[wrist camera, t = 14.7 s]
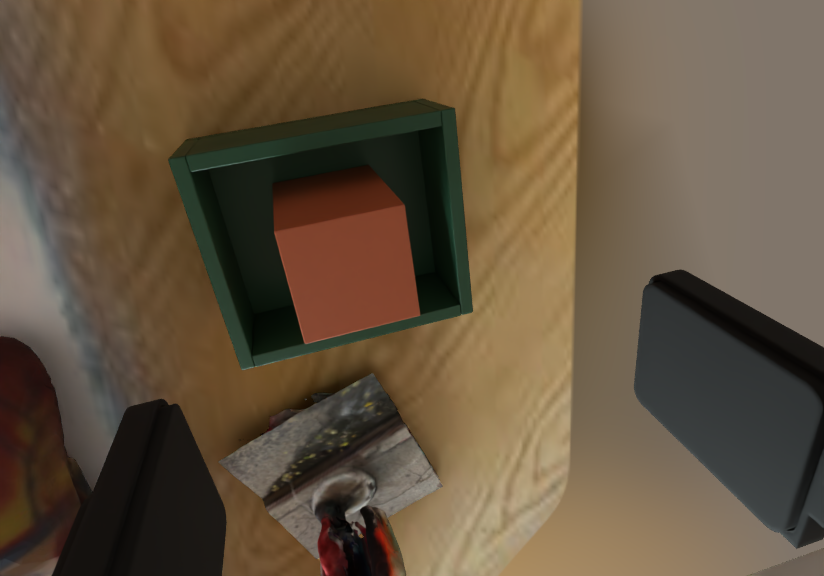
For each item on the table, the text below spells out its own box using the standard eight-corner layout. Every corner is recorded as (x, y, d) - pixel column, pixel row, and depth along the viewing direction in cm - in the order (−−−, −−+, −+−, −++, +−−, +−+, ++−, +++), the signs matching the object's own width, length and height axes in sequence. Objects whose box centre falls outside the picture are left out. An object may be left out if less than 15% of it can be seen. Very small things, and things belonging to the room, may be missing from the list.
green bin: (424, 98, 23) (455, 107, 19) (444, 275, 28) (473, 312, 24) (185, 139, 22) (167, 159, 18) (245, 322, 26) (241, 370, 22)
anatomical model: (-188, 360, 21) (75, 418, 35) (-310, 740, 16) (56, 633, 29) (25, 310, 21) (206, 389, 34) (-29, 682, 16) (210, 601, 29)
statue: (432, 463, 35) (548, 722, 23) (311, 530, 34) (363, 832, 22) (367, 360, 28) (480, 644, 16) (217, 441, 28) (219, 797, 16)
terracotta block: (368, 164, 24) (404, 203, 17) (384, 252, 26) (421, 316, 19) (271, 183, 23) (273, 231, 17) (295, 272, 25) (304, 344, 19)
